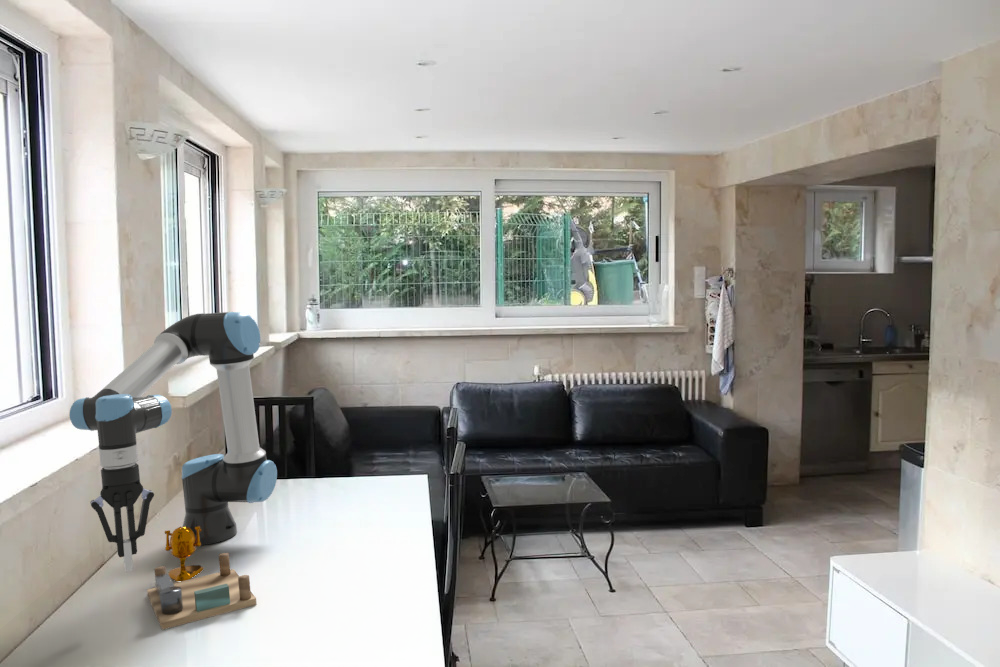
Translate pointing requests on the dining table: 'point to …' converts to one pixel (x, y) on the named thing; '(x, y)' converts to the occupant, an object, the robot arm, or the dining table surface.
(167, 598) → the leg
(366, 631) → the dining table surface
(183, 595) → the board
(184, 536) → the figurine
